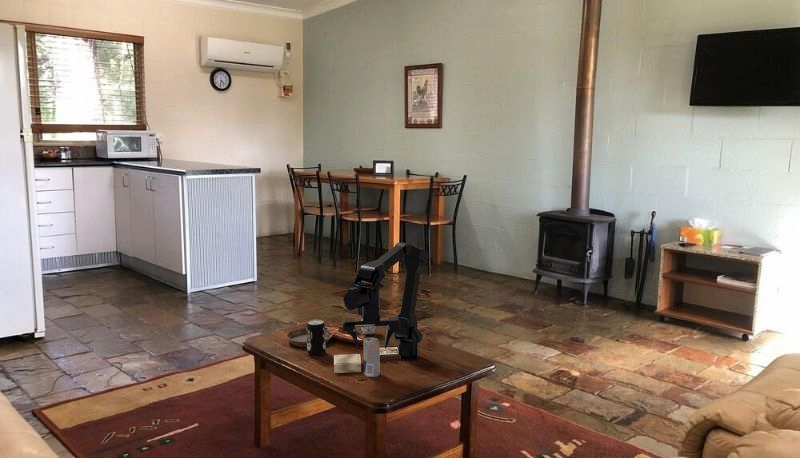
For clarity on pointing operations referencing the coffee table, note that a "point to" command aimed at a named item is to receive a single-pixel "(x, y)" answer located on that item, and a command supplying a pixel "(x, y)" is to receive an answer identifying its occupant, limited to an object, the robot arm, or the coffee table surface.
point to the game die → (368, 329)
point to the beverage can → (316, 337)
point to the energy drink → (371, 357)
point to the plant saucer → (303, 337)
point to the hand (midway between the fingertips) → (371, 348)
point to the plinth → (347, 363)
